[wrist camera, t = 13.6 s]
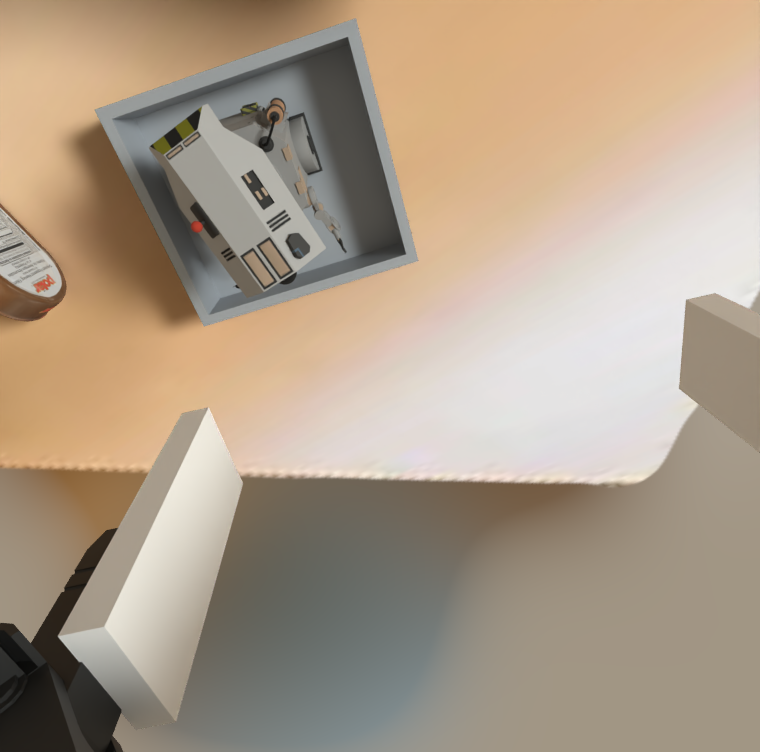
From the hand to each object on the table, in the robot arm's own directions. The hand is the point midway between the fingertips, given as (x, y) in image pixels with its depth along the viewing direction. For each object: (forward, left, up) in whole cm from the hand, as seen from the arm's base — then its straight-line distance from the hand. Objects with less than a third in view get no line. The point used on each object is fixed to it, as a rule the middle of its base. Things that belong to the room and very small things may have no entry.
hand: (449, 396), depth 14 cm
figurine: (-4, -8, -32) cm, 33 cm away
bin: (-4, -8, -32) cm, 34 cm away
